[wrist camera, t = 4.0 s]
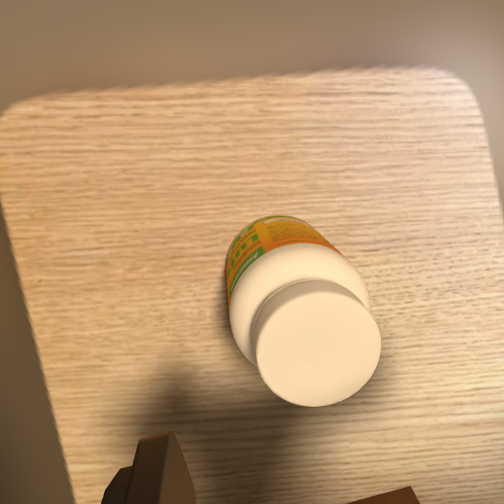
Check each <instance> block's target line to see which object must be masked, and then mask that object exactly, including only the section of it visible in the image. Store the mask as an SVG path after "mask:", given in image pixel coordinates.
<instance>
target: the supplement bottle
mask: <svg viewBox="0 0 504 504" xmlns="http://www.w3.org/2000/svg"><path fill="white" fill-rule="evenodd" d="M226 275H227V292H228V304H229V317H230V324H231V329H232V333H233V337H234V339H235V342H236V344H237V346H238V347H239V349H240V351H241V352H242V354H243V355H244V356H245V357H246V358H247V360H249V361H250V362H251V363H252V364H253V365H254V366H255V367H257V368H258V370H259V373H260V375H261V377H262V379H263V380H264V382H265V383H266V385H267V386H268V387H269V388H270V389H271V390H272V391H273V392H274V393H275V394H276V395H278V396H279V397H281V398H282V399H284V400H286V401H288V402H291V403H293V404H297V405H301V406H308V407H319V406H326V405H331V404H334V403H337V402H340V401H343V400H344V399H346V398H348V397H350V396H351V395H353V394H354V393H356V392H357V391H358V390H360V389H361V388H362V387H363V386H364V385H365V384H366V382H367V381H368V380H369V379H370V377H371V376H372V374H373V373H374V371H375V369H376V367H377V364H378V361H379V358H380V352H381V338H380V332H379V329H378V326H377V323H376V321H375V319H374V318H373V316H372V315H371V302H370V296H369V292H368V289H367V286H366V284H365V282H364V280H363V278H362V276H361V275H360V273H359V272H358V271H357V269H356V268H355V267H354V266H353V265H352V264H351V262H350V261H349V260H348V259H347V258H346V257H344V256H343V255H342V254H341V253H340V252H339V251H338V250H337V249H336V248H335V247H334V246H332V245H331V244H330V243H329V242H328V241H327V240H326V239H325V238H324V237H323V236H322V235H321V234H320V233H319V232H318V231H317V230H315V229H314V228H313V227H312V226H311V225H309V224H308V223H306V222H304V221H303V220H301V219H298V218H296V217H293V216H288V215H270V216H265V217H262V218H259V219H257V220H255V221H253V222H251V223H249V224H248V225H247V226H245V227H244V228H243V229H242V230H241V231H240V232H239V233H238V235H237V236H236V237H235V239H234V240H233V242H232V244H231V246H230V249H229V251H228V255H227V262H226Z"/></svg>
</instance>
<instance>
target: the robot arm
mask: <svg viewBox="0 0 504 504" xmlns="http://www.w3.org/2000/svg"><path fill="white" fill-rule="evenodd" d="M101 504H197V503H196V495H195V490H194V485H193V482H192V479H191V476H190V473H189V470H188V468H187V465H186V462H185V459H184V456H183V454H182V451H181V448H180V445H179V442H178V439H177V437H176V435H175V433H174V432H173V431H172V430H171V431H168V432H164V433H160V434H156V435H153V436H149V437H145V438H142V439H140V440H139V442H138V445H137V449H136V453H135V457H134V461H133V465H132V466H129V467H125V468H121V469H120V470H119V471H118V473H117V474H116V475H115V477H114V478H113V480H112V481H111V483H110V484H109V485H108V487H107V488H106V490H105V492H104V496H103V499H102V502H101Z"/></svg>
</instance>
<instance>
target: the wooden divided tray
mask: <svg viewBox="0 0 504 504" xmlns="http://www.w3.org/2000/svg"><path fill="white" fill-rule="evenodd" d="M349 504H420V502H419V501H418V499H417V497H416V495H415V493H414V492H413V490H412V488H411V487H408V488H404V489H400V490H397V491H393V492H389V493H386V494H382V495H378V496H375V497H371V498H367V499H364V500H360V501H356V502H352V503H349Z"/></svg>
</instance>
